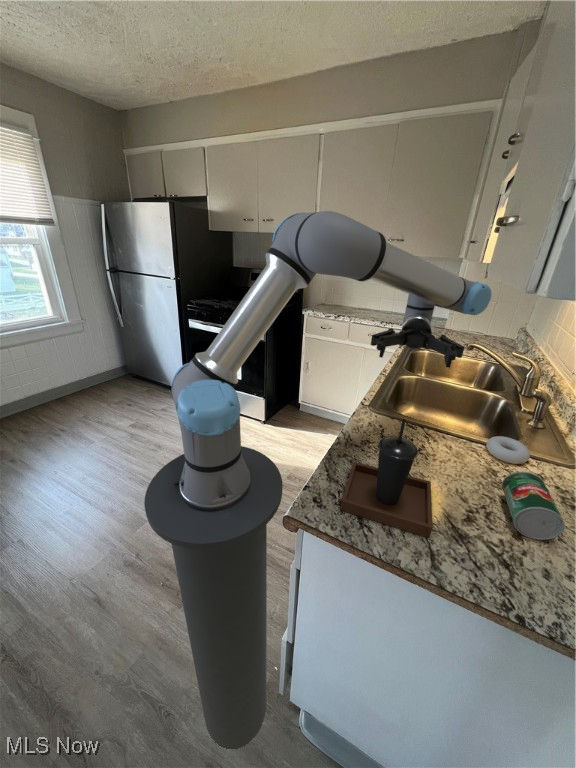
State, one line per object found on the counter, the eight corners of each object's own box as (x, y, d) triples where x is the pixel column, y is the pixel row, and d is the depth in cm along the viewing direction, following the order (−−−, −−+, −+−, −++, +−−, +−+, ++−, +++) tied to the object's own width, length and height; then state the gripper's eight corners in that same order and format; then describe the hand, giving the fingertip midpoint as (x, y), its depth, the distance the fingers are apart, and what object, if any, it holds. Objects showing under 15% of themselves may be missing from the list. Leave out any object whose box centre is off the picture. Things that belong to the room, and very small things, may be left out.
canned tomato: (510, 503, 72) (523, 542, 62) (495, 476, 71) (506, 512, 61) (551, 495, 68) (572, 536, 58) (536, 467, 66) (554, 504, 57)
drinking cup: (393, 482, 73) (410, 408, 65) (412, 508, 67) (433, 428, 58) (363, 487, 72) (376, 411, 63) (379, 513, 65) (396, 432, 56)
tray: (340, 510, 66) (341, 500, 65) (352, 470, 78) (353, 461, 77) (429, 538, 61) (432, 527, 60) (428, 490, 72) (430, 481, 71)
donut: (530, 471, 80) (524, 450, 88) (535, 461, 78) (529, 440, 86) (485, 459, 84) (484, 439, 92) (489, 448, 82) (487, 429, 90)
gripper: (463, 351, 82) (475, 382, 64) (367, 338, 90) (353, 363, 72) (471, 323, 79) (486, 348, 61) (371, 312, 87) (358, 331, 69)
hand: (414, 356), depth 66 cm, fingers open, 13 cm apart
